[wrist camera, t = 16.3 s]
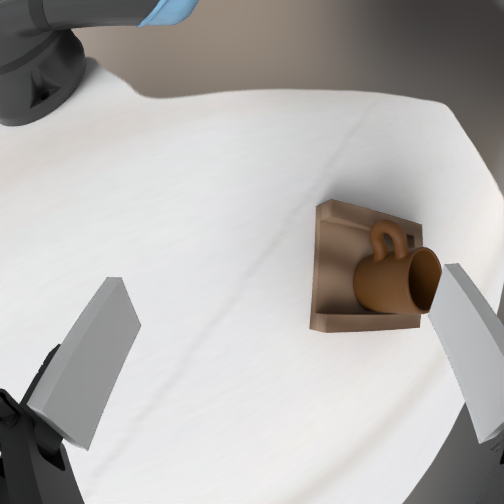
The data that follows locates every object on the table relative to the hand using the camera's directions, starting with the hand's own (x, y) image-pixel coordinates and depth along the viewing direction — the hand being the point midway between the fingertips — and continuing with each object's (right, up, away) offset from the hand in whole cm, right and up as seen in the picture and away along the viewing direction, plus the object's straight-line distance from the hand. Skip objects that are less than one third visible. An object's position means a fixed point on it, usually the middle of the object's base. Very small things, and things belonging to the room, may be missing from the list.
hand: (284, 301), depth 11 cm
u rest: (+14, -1, +26) cm, 30 cm away
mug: (+13, 0, +25) cm, 29 cm away
